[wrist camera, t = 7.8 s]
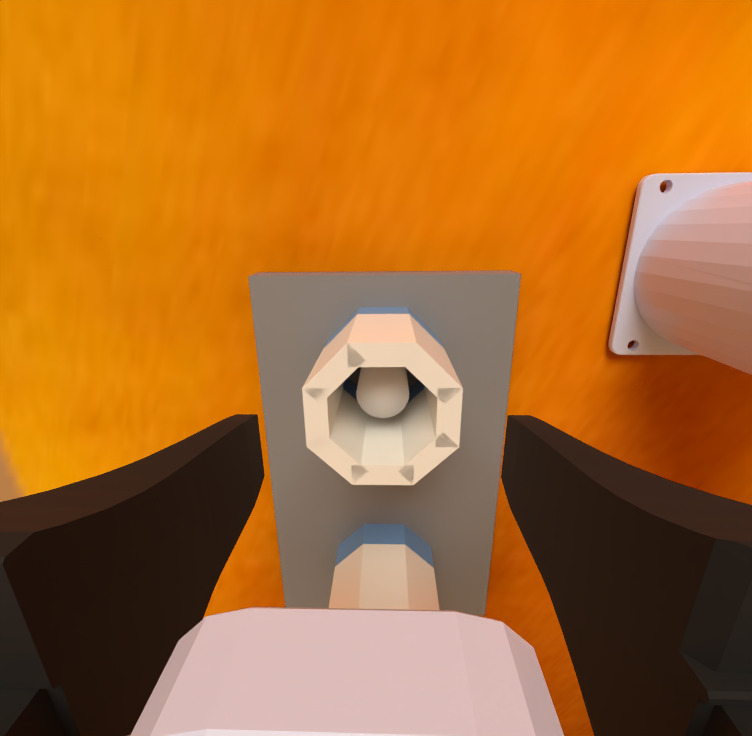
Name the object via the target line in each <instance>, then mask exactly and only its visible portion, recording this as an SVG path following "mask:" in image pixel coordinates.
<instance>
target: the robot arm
mask: <svg viewBox="0 0 752 736" xmlns="http://www.w3.org/2000/svg"><path fill="white" fill-rule="evenodd" d="M663 181H665V183H666V189H665V191H664V192H663V193H662V192H661V191H660V185H661V183H662V182H663ZM632 340H634V345H633V346H632V347H631V348H628V343H629V342H630V341H632ZM608 347H609V349H610V351H612V352H613V353H615V354H617V355H703V356H705V357H708V358H710V359H713V360H715V361H718V362H720V363H723V364H725V365H728V366H730V367H733V368H735V369H738V370H740V371H742V372H745V373H747V374H750V375H752V172H745V173H676V174H652V175H648V176H646V177H644V178H643V179H642V180H641V181H640V182H639V184H638V187H637V192H636V197H635V203H634V208H633V213H632V219H631V224H630V230H629V235H628V240H627V246H626V251H625V257H624V262H623V267H622V273H621V278H620V283H619V289H618V294H617V300H616V305H615V310H614V316H613V321H612V327H611V332H610V337H609V343H608ZM501 478H502V482H503V485H504V489H505V492H506V496H507V499H508V502H509V505H510V508H511V510H512V513H513V515H514V517H515V519H516V522H517V524H518V526H519V528H520V530H521V533H522V535H523V537H524V539H525V541H526V543H527V545H528V548H529V550H530V552H531V554H532V556H533V558H534V560H535V563H536V565H537V567H538V569H539V571H540V573H541V575H542V578H543V580H544V582H545V585H546V587H547V590H548V592H549V594H550V597H551V600H552V603H553V606H554V609H555V612H556V615H557V617H558V620H559V623H560V626H561V629H562V632H563V635H564V638H565V641H566V644H567V647H568V651H569V654H570V657H571V660H572V663H573V666H574V669H575V672H576V676H577V679H578V682H579V685H580V689H581V692H582V695H583V699H584V702H585V706H586V709H587V712H588V716H589V719H590V723H591V726H592V729H593V733H594V736H752V505H749V504H745V503H742V502H738V501H734V500H731V499H727V498H724V497H720V496H717V495H713V494H710V493H707V492H704V491H701V490H697V489H694V488H691V487H688V486H685V485H682V484H679V483H676V482H673V481H670V480H667V479H665V478H662V477H659V476H657V475H654V474H652V473H649V472H647V471H644V470H641V469H639V468H636V467H634V466H632V465H629V464H627V463H625V462H623V461H620V460H618V459H616V458H614V457H612V456H610V455H608V454H605V453H603V452H601V451H599V450H597V449H595V448H593V447H591V446H589V445H587V444H585V443H583V442H582V441H580V440H578V439H576V438H574V437H572V436H570V435H568V434H566V433H565V432H563V431H561V430H559V429H557V428H555V427H553V426H552V425H550V424H548V423H546V422H544V421H542V420H540V419H537V418H535V417H533V416H530V415H508V419H507V428H506V438H505V447H504V456H503V466H502V475H501ZM263 479H264V467H263V459H262V450H261V442H260V433H259V425H258V416H257V415H242V414H237V415H234V416H231V417H228V418H226V419H224V420H222V421H219V422H217V423H215V424H213V425H211V426H209V427H207V428H205V429H204V430H202V431H200V432H198V433H196V434H194V435H192V436H190V437H188V438H186V439H184V440H182V441H180V442H178V443H175V444H173V445H171V446H169V447H167V448H165V449H163V450H161V451H158V452H156V453H154V454H152V455H150V456H148V457H145V458H143V459H141V460H138V461H136V462H133V463H131V464H128V465H126V466H123V467H120V468H118V469H115V470H112V471H110V472H107V473H104V474H101V475H98V476H95V477H92V478H88V479H85V480H82V481H79V482H75V483H72V484H69V485H66V486H62V487H59V488H56V489H52V490H49V491H45V492H41V493H37V494H33V495H29V496H25V497H21V498H17V499H12V500H8V501H3V502H0V736H564V734H563V731H562V728H561V725H560V722H559V720H558V717H557V714H556V711H555V708H554V705H553V702H552V699H551V697H550V694H549V691H548V688H547V685H546V682H545V679H544V676H543V673H542V671H541V668H540V665H539V662H538V659H537V656H536V653H535V650H534V648H533V647H532V646H531V645H530V644H529V643H527V642H526V641H525V640H524V639H523V638H521V637H520V636H519V635H518V634H516V633H515V632H514V631H513V630H512V629H510V628H509V627H508V626H507V625H506V624H504V623H503V622H501V621H498V620H495V619H491V618H486V617H482V616H477V615H473V614H468V613H464V612H459V611H454V610H405V609H349V608H294V607H251V608H245V609H240V610H235V611H230V612H224V613H219V614H214V615H210V616H206V617H205V618H204V619H203V617H204V614H205V611H206V609H207V606H208V603H209V601H210V598H211V595H212V593H213V590H214V588H215V585H216V583H217V581H218V579H219V577H220V574H221V572H222V570H223V568H224V566H225V564H226V562H227V560H228V558H229V556H230V554H231V552H232V550H233V548H234V546H235V544H236V542H237V540H238V538H239V536H240V534H241V532H242V530H243V528H244V526H245V524H246V522H247V520H248V518H249V516H250V514H251V512H252V510H253V508H254V506H255V503H256V500H257V497H258V494H259V492H260V488H261V485H262V482H263ZM202 619H203V620H202Z"/></svg>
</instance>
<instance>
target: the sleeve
mask: <svg viewBox="0 0 752 736" xmlns="http://www.w3.org/2000/svg"><path fill="white" fill-rule="evenodd" d="M358 367H406V368H407V369H408V370H409V371H410V372H411V373H412V374H413V375H414V376H415V377H416V378H417V379H418V380H417V381H416V382H415V383H414V384H413V385H412V386H411V387H410V388H409V399H408V402H407V404H406V406H405V408H404V409H403V410H402V411H401V412H400V413H398V414H397V415H395V416H392V417H389V418H377V417H374V416H371V415H369V414H368V413H366V412H365V411H364V410H363V409H362V408H361V407H360V405H359V403H358V401H357V395H356V391H357V386H356V385H355V384H354V383H353V382H352V381H351V380H349V379H348V377H349V376H350V375H351V374H352V373H353V372H354V371H355V370H356V369H357V368H358ZM302 394H303V407H304V420H305V433H306V446H307V448H309V449H310V450H311V451H312V452H313V453H315V454H316V455H317V456H318V457H319V458H321V459H322V460H323V461H324V462H325V463H327V464H328V465H329V466H330V467H331V468H333V469H334V470H335V471H336V472H337V473H339V474H340V475H341V476H342V477H344V478H345V479H346V480H347V481H348V482H350V483H351V484H352V485H414V484H415V483H417V482H418V481H419V480H420V479H421V478H423V477H424V476H425V475H426V474H428V473H429V472H430V471H431V470H432V469H434V468H435V467H436V466H437V465H438V464H440V463H441V462H442V461H443V460H444V459H446V458H447V457H448V456H449V455H450V454H452V453H453V452H454V451H455V450H457V449H458V448H459V443H460V427H461V411H462V395H463V387H462V385H461V383H460V381H459V379H458V377H457V375H456V372H455V370H454V368H453V366H452V364H451V362H450V360H449V358H448V356H447V353H446V351H445V349H444V347H443V345H442V343H441V341H440V339H439V338H438V337H437V336H436V335H435V334H434V333H433V332H432V331H431V330H430V329H429V328H428V327H427V326H426V325H425V324H424V323H423V322H422V321H421V320H420V319H419V318H418V317H417V316H416V315H415V314H414V313H413V312H412V311H411V310H410V309H409V308H408V307H360V308H359V309H358V310H357V311H356V312H355V313H354V314H353V315H352V316H351V317H350V318H349V319H348V320H347V321H346V322H345V323H344V324H343V325H342V326H341V327H340V328H339V329H338V330H337V331H336V332H335V333H334V334H333V335H332V337H331V338H330V339H329V340H328V341H327V343H326V345H325V347H324V348H323V350H322V352H321V354H320V356H319V358H318V360H317V361H316V363H315V365H314V367H313V369H312V371H311V373H310V374H309V376H308V378H307V380H306V382H305V384H304V386H303V387H302Z"/></svg>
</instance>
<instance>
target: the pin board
mask: <svg viewBox="0 0 752 736" xmlns="http://www.w3.org/2000/svg"><path fill="white" fill-rule="evenodd" d="M520 279H521V274H519V273H517V272H514V271H398V272H265V273H256V274H253V275H250V276H249V285H250V294H251V303H252V312H253V321H254V330H255V339H256V348H257V357H258V366H259V375H260V384H261V393H262V402H263V411H264V420H265V429H266V438H267V447H268V456H269V465H270V474H271V482H272V491H273V500H274V509H275V518H276V527H277V536H278V545H279V554H280V563H281V572H282V581H283V590H284V599H285V607H294V608H329V602H330V595H331V589H332V583H333V576H334V570H335V563H336V557H337V551H338V545H340V544H341V543H342V542H343V541H344V540H346V539H347V538H348V537H349V536H351V535H352V534H353V533H354V532H355V531H357V530H358V529H359V528H360V527H361V526H363V525H364V524H404V525H406V526H407V527H408V528H409V529H410V530H412V531H413V532H414V533H415V534H416V535H418V536H419V537H420V538H421V539H422V540H423V541H425V542H426V543H427V544H428V545H429V546H431V551H432V558H433V566H434V573H435V580H436V588H437V595H438V602H439V610H454V611H459V612H464V613H468V614H473V615H485V610H486V601H487V591H488V582H489V572H490V563H491V553H492V544H493V534H494V525H495V516H496V506H497V497H498V487H499V478H500V468H501V459H502V449H503V440H504V430H505V421H506V411H507V402H508V393H509V383H510V374H511V364H512V355H513V345H514V336H515V326H516V317H517V307H518V298H519V288H520ZM360 307H408V308H409V309H410V310H411V311H412V312H413V313H414V314H415V315H416V316H417V317H418V318H419V319H420V320H421V321H422V322H423V323H424V324H425V325H426V326H427V327H428V328H429V329H430V330H431V331H432V332H433V333H434V334H435V335H436V336H437V337H438V338H439V339H440V341H441V343H442V345H443V347H444V349H445V351H446V353H447V356H448V358H449V360H450V362H451V364H452V366H453V368H454V370H455V372H456V375H457V377H458V379H459V381H460V383H461V385H462V387H463V395H462V411H461V427H460V443H459V448H458V449H457V450H455V451H454V452H453V453H452V454H450V455H449V456H448V457H447V458H446V459H444V460H443V461H442V462H441V463H440V464H438V465H437V466H436V467H435V468H434V469H432V470H431V471H430V472H429V473H428V474H426V475H425V476H424V477H423V478H421V479H420V480H419V481H418V482H417V483H415V484H414V485H352V484H351V483H350V482H348V481H347V480H346V479H345V478H344V477H342V476H341V475H340V474H339V473H337V472H336V471H335V470H334V469H333V468H331V467H330V466H329V465H328V464H327V463H325V462H324V461H323V460H322V459H321V458H319V457H318V456H317V455H316V454H315V453H313V452H312V451H311V450H310V449H309V448H307V446H306V433H305V420H304V407H303V394H302V387H303V386H304V384H305V382H306V380H307V378H308V376H309V374H310V373H311V371H312V369H313V367H314V365H315V363H316V361H317V360H318V358H319V356H320V354H321V352H322V350H323V348H324V347H325V345H326V343H327V341H328V340H329V339H330V338H331V337H332V335H333V334H334V333H335V332H336V331H337V330H338V329H339V328H340V327H341V326H342V325H343V324H344V323H345V322H346V321H347V320H348V319H349V318H350V317H351V316H352V315H353V314H354V313H355V312H356V311H357V310H358V309H359V308H360ZM348 379H349V380H351V381H352V382H353V383H354V384H355V385H356V386H357V391H356V395H357V401H358V403H359V405H360V407H361V408H362V409H363V410H364V411H365V412H366V413H368V414H369V415H371V416H374V417H377V418H389V417H392V416H395V415H397V414H398V413H400V412H401V411H402V410H403V409H404V408H405V406H406V404H407V402H408V399H409V388H410V387H411V386H412V385H413V384H414V383H415V382H416V381H417V380H418V379H417V378H416V377H415V376H414V375H413V374H412V373H411V372H410V371H409V370H408V369H407V368H406V367H358V368H357V369H356V370H355V371H354V372H353V373H352V374H351V375H350V376H349V377H348Z"/></svg>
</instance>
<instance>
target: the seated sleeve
mask: <svg viewBox="0 0 752 736" xmlns="http://www.w3.org/2000/svg"><path fill="white" fill-rule="evenodd" d="M329 608H349V609H405V610H439V602H438V595H437V588H436V580H435V573H434V566H433V558H432V551H431V546H429V545H428V544H427V543H426V542H425V541H423V540H422V539H421V538H420V537H419V536H418V535H416V534H415V533H414V532H413V531H412V530H410V529H409V528H408V527H407V526H406V525H404V524H364V525H363V526H361V527H360V528H359V529H358V530H357V531H355V532H354V533H353V534H352V535H351V536H349V537H348V538H347V539H346V540H344V541H343V542H342V543H341V544H340V545H338V551H337V557H336V563H335V570H334V576H333V583H332V589H331V595H330V602H329Z"/></svg>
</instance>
